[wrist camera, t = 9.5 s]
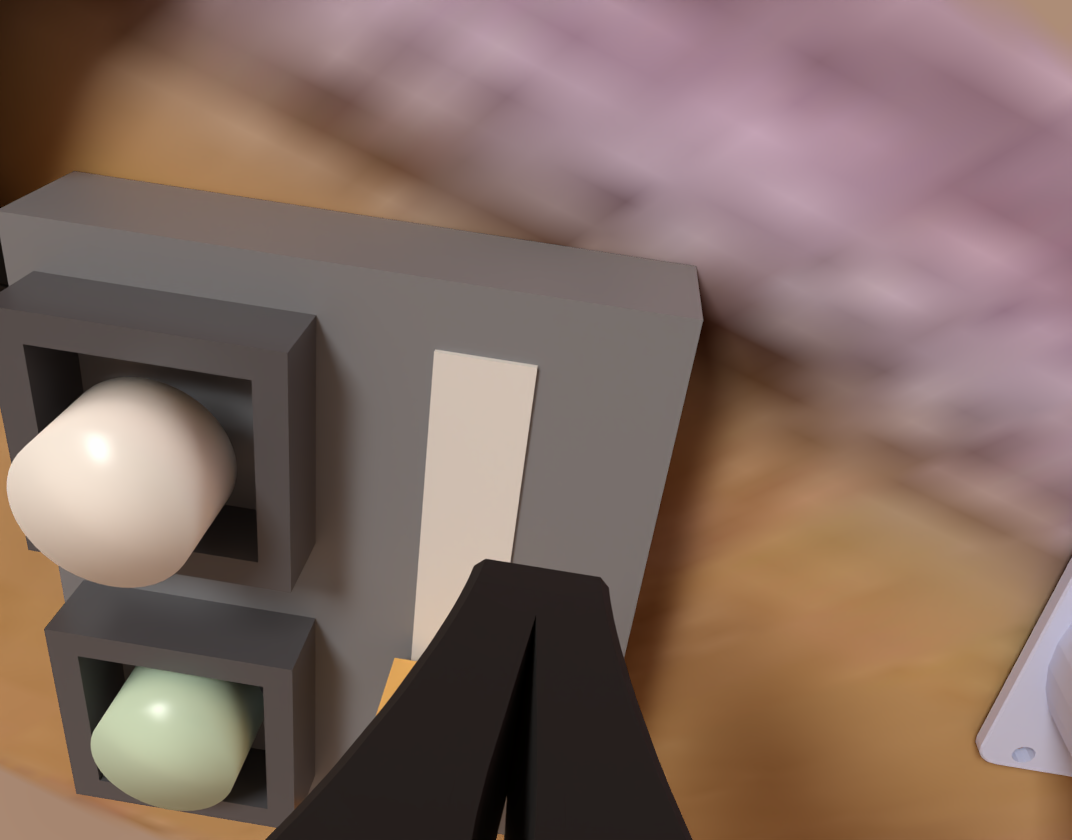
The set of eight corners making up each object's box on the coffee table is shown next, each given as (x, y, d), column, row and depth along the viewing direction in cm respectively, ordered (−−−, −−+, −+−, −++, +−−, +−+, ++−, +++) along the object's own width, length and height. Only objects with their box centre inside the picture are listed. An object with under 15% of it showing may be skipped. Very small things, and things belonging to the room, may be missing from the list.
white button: (233, 392, 15) (187, 449, 14) (240, 535, 17) (199, 600, 15) (56, 364, 16) (-8, 418, 14) (79, 509, 17) (22, 572, 16)
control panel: (696, 266, 18) (708, 360, 14) (585, 763, 25) (576, 906, 21) (73, 171, 18) (-63, 240, 14) (141, 688, 25) (61, 818, 21)
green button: (263, 658, 20) (231, 723, 18) (267, 752, 21) (237, 821, 20) (126, 635, 20) (81, 698, 18) (138, 731, 21) (99, 798, 20)
